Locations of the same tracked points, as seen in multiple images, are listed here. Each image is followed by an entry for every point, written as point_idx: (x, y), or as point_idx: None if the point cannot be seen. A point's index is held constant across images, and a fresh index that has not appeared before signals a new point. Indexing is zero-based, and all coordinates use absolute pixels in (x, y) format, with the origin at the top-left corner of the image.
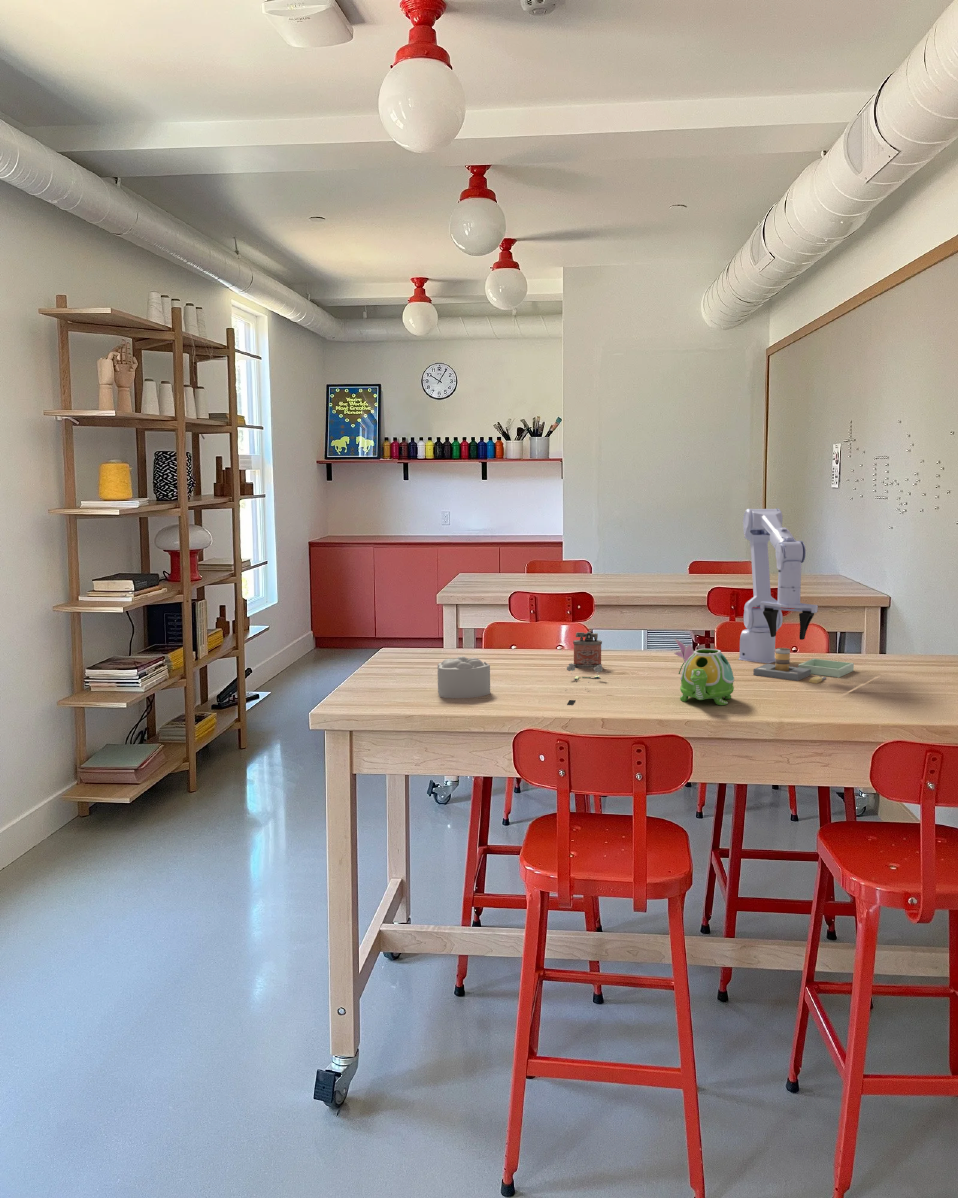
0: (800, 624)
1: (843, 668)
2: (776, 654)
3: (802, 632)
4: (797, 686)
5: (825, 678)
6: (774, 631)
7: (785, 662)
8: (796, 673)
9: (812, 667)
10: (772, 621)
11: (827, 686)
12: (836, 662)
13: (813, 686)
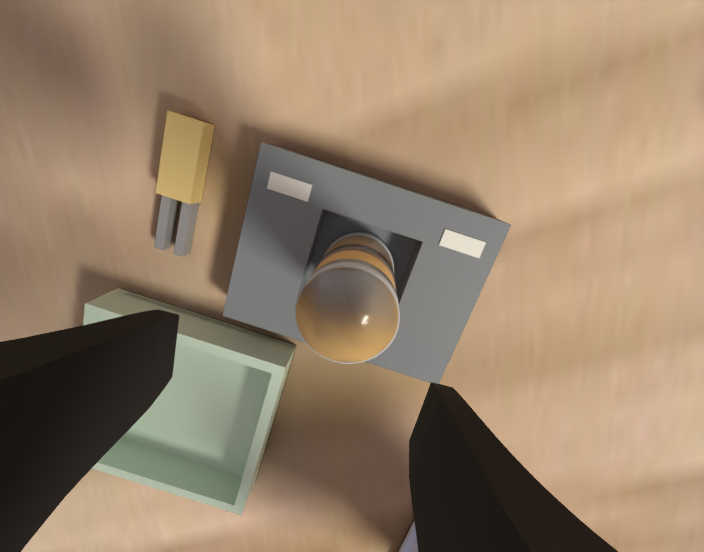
0: (18, 365)
1: None
2: (388, 278)
3: (94, 323)
4: (260, 31)
5: (158, 239)
6: (428, 448)
7: (332, 251)
8: (271, 170)
9: (217, 342)
10: (488, 522)
11: (127, 95)
12: (143, 473)
13: (187, 67)
